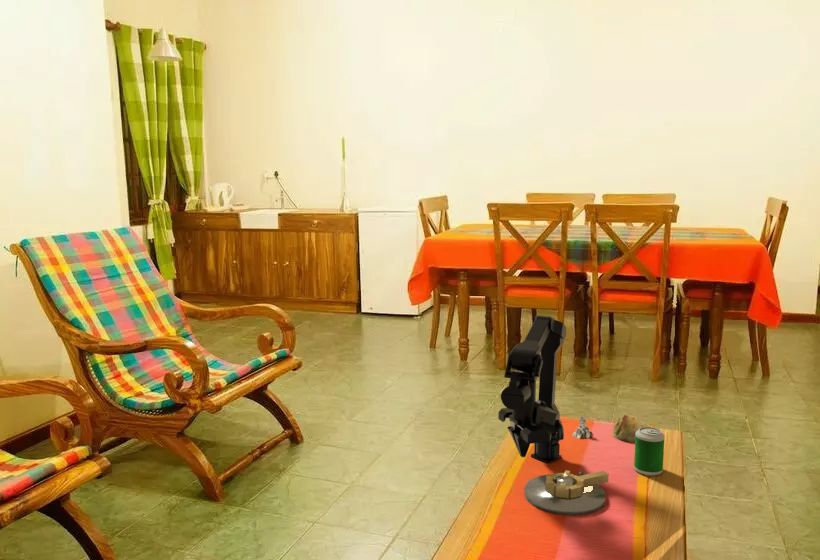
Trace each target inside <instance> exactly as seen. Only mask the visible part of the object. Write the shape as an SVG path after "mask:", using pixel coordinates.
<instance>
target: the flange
mask: <svg viewBox="0 0 820 560" xmlns="http://www.w3.org/2000/svg"><path fill="white" fill-rule="evenodd" d="M549 475H551V474H550V473H549ZM582 475H585V473H584V472H583V471H579V472H578V476H582ZM546 476H547V474H543V475H539V476H535V477H534V478H531V479H529V480H528V481H527V482H526V483H525V486H524V497H525V499H526V500H527V502H528V503H530V504H531V505H532V506H533V507H536V508H537V509H540V510H542V511H545V512H548V513H551V514H555V515H562V516H563V515H564V516H585V515H590V514H593V513H596V512H598V511H600V510H601V509H602V508H603V507H604V506H605V504H606V492H605V490H604V489H603V487H602V486H600V484H597V485H593V490H592V491H591V492H586V493H583V495H581V496H579V497H575V498H569V499H568V498H562V497H555V496H553V495H552V494H550V493H549V492H547V491H546V490H545V485H546ZM561 482H562V483H566V486H572V485H573V479H572V478H570V477H566V476H561V477H558V478H557V485H560V483H561Z"/></svg>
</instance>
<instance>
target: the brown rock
mask: <svg viewBox="0 0 820 560" xmlns="http://www.w3.org/2000/svg"><path fill="white" fill-rule="evenodd" d="M642 427H652V426H651V425H650V424H648V423H647V422H643V421H641V420H640V419H639V418H638V417H636V416H632V415H627V414H624V415H623V416H622V418H620V417H619V418H618V419H617V421H616V423H615V424H614V426H613V430H612V433H611V434H612V437H613V438H615V439H617V440H620V441H626V442H629V443H634V444H635V435H636V431H638V430H639V429H640V428H642Z"/></svg>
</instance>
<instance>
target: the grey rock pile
mask: <svg viewBox="0 0 820 560" xmlns="http://www.w3.org/2000/svg"><path fill="white" fill-rule="evenodd" d="M578 422H579V425H578V427H576V430H575V431H574V432H572V435H571V437H573V438H576V439H581V438H582V439H583V438H586V439H590V437H591V438H592V434H593V433H592V430H590V429H589V426H588V425H586V422H587V421H586V418H585V417H584V416H582V415H581V416H580V417H579V421H578Z"/></svg>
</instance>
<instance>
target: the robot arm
mask: <svg viewBox="0 0 820 560" xmlns="http://www.w3.org/2000/svg"><path fill="white" fill-rule="evenodd" d="M566 338H567V326H566V325H565V324H564V322H562V321H560V320H557V319H555V318H554V317H552V316H548V315H535V316H534V317H533V320H532V325H531V326H530V329H529V331H528V332H527V334H526V337H525V338H524V339H523V341H522V342H519V343H517V344H515V346H513V348H512V350H511V351H509V353H508V357H507V361H506V366H505V372H504V377H503V378H504V379H510V380H509V382H508V385H507V386H506V387H504V389H502V391H501V394H500V399H501V402H502V404H503V406H505V407H503V408H500V410H499V411H498V413H497V414H498V417H497V419H498V420H499V421H501V422H502V423H505V421H507V420H506V419H509V420H508V421H509V422H510V423H509V424H510V426H507V428H506V429H507V430H508V432H509V434H510V436H511V438H512V440H513V442H514V445H515V447H516V449H517V452H518V454H519V456H520V458H526V457H527V454H528V451H529V448H530V445H531V444H534V449H533V450H534V451H533V453H531V454H530V457H531V458H534V459H536V460H539V461H542V462H544V463H547V464H549V463H551V462H554V461H557V460H559V459H561V458H562V457H563V456H562V455H561V454H560V451H561V449H560V443H559V442H560V441H563V440H564V439H565V432H564V430H565V429H564V425H563V422H562V420H560V417H561V416H560V415H561V413H560V411H559V409H558V407H557V405H556V403H555V400H556V385H557V384H556V382H557V363H558V352H559V351H560V349H561V348H562V347H563V345H564V343H565V339H566ZM538 378H539V383H538V399H537V397H536V395H537V379H538Z"/></svg>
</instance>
